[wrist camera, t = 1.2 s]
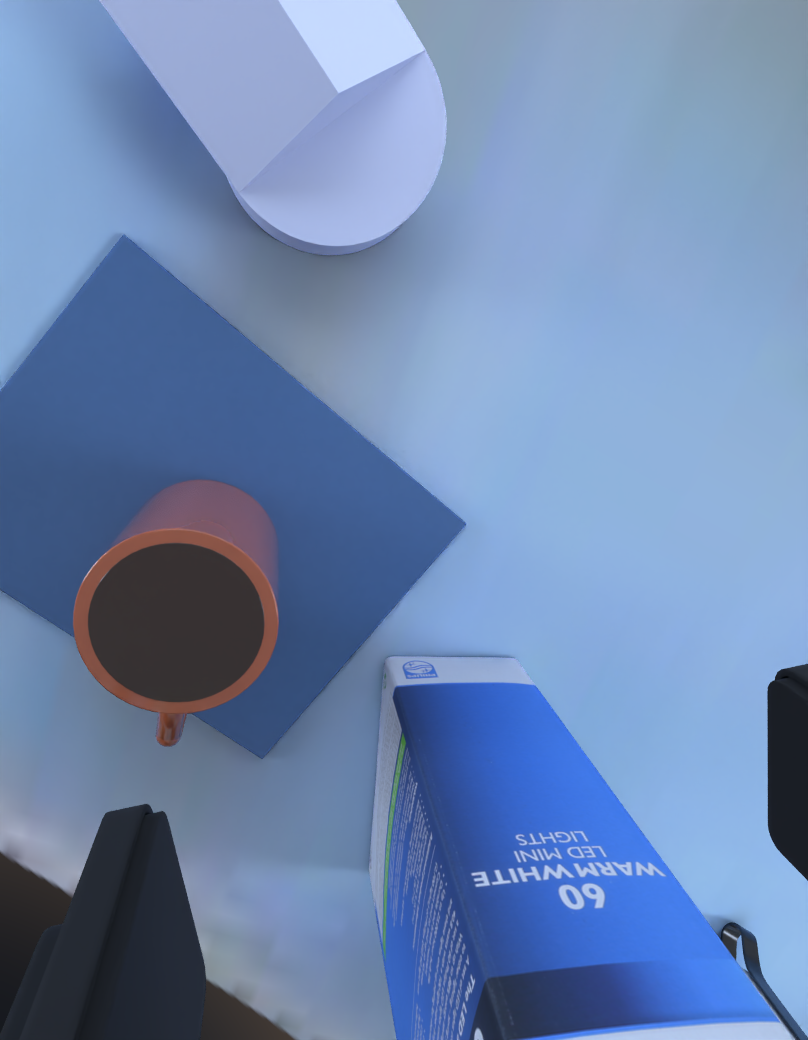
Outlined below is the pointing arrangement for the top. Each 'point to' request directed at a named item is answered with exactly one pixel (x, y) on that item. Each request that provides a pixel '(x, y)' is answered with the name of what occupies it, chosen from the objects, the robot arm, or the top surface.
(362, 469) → the blue rectangular mat
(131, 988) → the robot arm
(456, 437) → the top surface
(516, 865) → the string lights box
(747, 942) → the coffee press
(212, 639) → the mug
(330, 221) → the wedge on round base
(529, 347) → the top surface
